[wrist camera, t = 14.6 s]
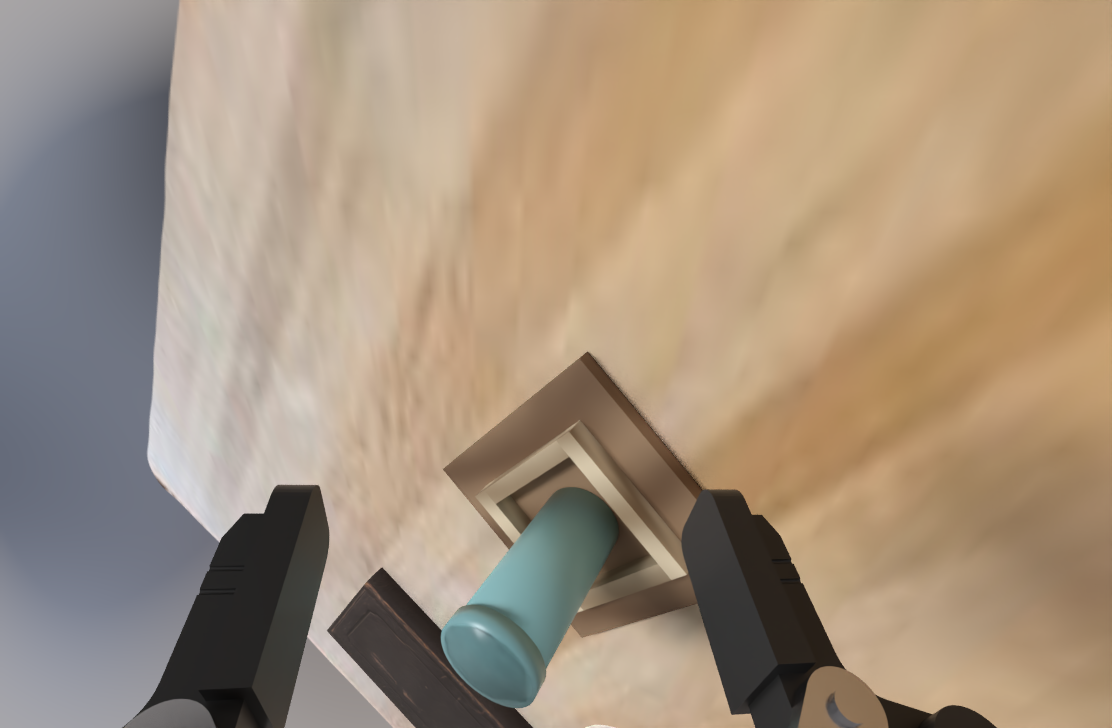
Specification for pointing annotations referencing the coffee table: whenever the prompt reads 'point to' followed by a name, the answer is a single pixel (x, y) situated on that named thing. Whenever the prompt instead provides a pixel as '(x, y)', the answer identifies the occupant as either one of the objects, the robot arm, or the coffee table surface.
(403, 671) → the hardcover book
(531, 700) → the teal domed canister
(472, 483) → the collar base
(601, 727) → the panda figurine
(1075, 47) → the coffee table surface
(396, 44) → the coffee table surface
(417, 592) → the coffee table surface
